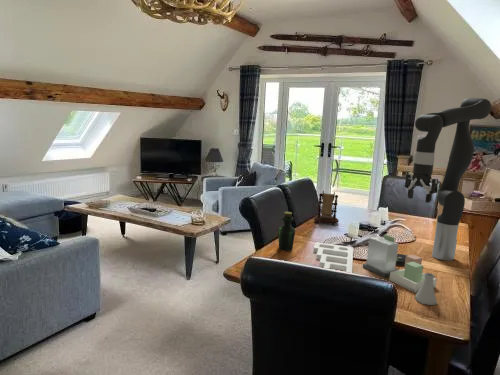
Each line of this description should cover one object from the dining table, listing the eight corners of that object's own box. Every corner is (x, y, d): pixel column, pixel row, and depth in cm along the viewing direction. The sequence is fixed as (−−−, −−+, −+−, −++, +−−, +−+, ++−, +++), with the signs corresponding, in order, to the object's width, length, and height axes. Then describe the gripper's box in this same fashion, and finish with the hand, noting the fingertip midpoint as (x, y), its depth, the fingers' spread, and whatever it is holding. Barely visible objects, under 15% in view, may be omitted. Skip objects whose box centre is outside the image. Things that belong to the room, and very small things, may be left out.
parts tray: (409, 275, 156) (410, 267, 155) (435, 287, 146) (436, 278, 145) (389, 280, 150) (390, 271, 150) (415, 292, 140) (416, 283, 139)
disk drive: (409, 260, 176) (376, 256, 179) (410, 255, 175) (377, 250, 178) (413, 269, 166) (378, 263, 169) (414, 263, 165) (379, 258, 168)
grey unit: (379, 263, 167) (382, 231, 165) (401, 274, 157) (405, 239, 155) (362, 267, 163) (366, 233, 160) (384, 277, 152) (388, 242, 150)
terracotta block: (410, 269, 163) (412, 254, 161) (419, 273, 159) (422, 258, 158) (403, 271, 160) (405, 255, 159) (412, 275, 157) (414, 259, 155)
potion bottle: (295, 247, 183) (297, 211, 180) (292, 252, 176) (295, 215, 172) (278, 245, 185) (281, 209, 182) (275, 250, 178) (277, 213, 175)
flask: (430, 296, 137) (434, 270, 136) (441, 306, 130) (445, 279, 129) (411, 295, 137) (414, 270, 135) (420, 305, 130) (424, 278, 128)
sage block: (411, 278, 151) (413, 261, 150) (420, 282, 147) (423, 265, 146) (403, 279, 149) (405, 263, 147) (413, 284, 145) (415, 267, 144)
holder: (350, 291, 140) (351, 284, 139) (302, 283, 144) (303, 276, 144) (352, 252, 182) (353, 247, 182) (315, 247, 187) (315, 242, 187)
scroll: (312, 224, 228) (315, 191, 225) (315, 218, 242) (318, 188, 239) (337, 227, 224) (340, 194, 221) (339, 221, 238) (342, 190, 234)
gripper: (403, 161, 162) (399, 197, 165) (433, 165, 150) (427, 204, 153) (415, 160, 166) (410, 196, 169) (444, 164, 154) (439, 203, 157)
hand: (418, 200), depth 161 cm, fingers open, 8 cm apart
